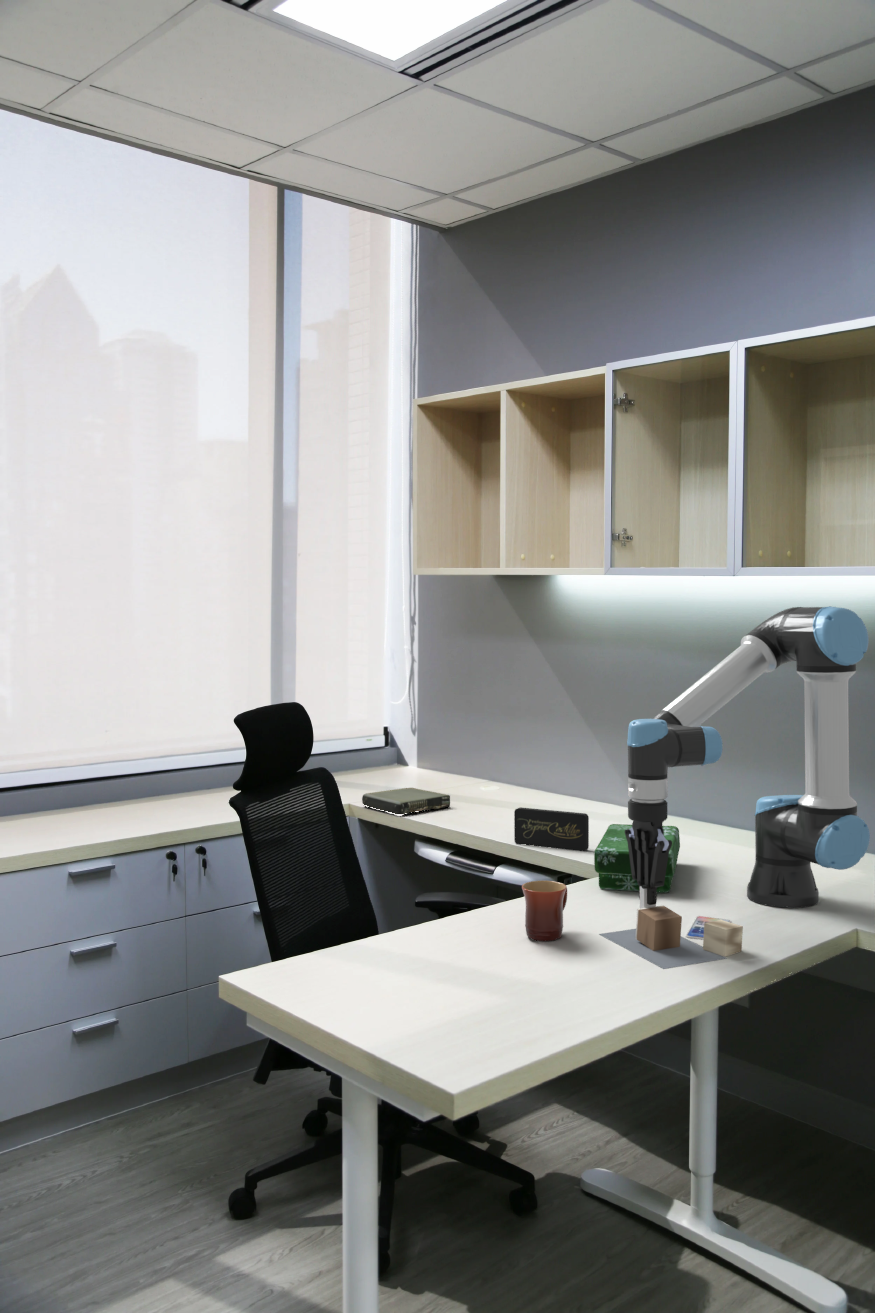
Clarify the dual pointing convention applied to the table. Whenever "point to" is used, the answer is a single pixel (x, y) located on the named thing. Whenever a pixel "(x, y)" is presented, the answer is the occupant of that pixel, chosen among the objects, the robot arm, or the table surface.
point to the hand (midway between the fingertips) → (647, 919)
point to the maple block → (722, 937)
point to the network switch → (406, 800)
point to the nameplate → (551, 829)
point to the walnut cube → (658, 927)
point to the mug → (544, 909)
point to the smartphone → (700, 927)
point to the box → (628, 859)
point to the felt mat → (663, 950)
